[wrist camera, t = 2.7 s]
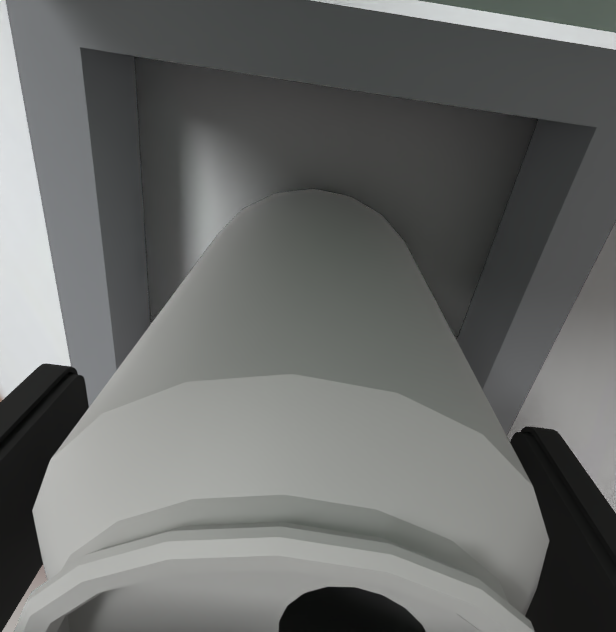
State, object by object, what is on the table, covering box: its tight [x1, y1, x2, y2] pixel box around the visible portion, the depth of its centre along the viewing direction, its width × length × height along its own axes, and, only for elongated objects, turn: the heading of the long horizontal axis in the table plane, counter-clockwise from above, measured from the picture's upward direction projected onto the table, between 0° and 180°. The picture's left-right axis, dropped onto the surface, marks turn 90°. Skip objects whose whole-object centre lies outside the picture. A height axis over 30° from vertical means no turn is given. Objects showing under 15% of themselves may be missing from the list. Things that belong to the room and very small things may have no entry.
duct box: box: [6, 0, 616, 436], centre depth 14 cm, size 16×15×3 cm
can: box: [14, 189, 549, 632], centre depth 10 cm, size 8×8×12 cm
